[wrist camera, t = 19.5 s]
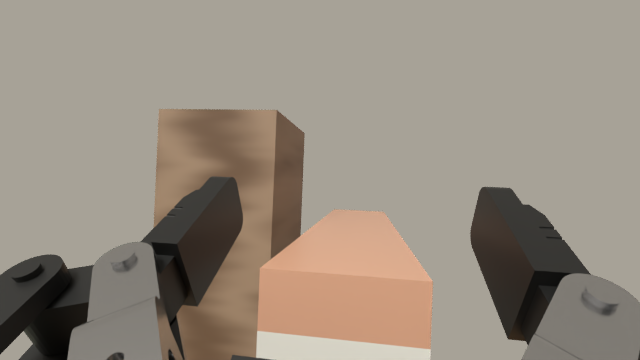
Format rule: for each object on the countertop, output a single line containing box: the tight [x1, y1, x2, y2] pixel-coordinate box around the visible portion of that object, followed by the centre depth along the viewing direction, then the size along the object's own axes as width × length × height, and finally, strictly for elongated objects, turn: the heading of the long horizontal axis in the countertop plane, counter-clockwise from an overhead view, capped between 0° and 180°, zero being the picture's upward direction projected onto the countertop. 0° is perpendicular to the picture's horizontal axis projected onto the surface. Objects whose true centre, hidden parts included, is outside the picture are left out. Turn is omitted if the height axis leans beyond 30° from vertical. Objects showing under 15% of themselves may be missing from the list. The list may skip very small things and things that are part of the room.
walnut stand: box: [154, 109, 304, 360], centre depth 22 cm, size 7×8×32 cm
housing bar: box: [256, 209, 433, 360], centre depth 17 cm, size 4×19×3 cm, turn 172°
